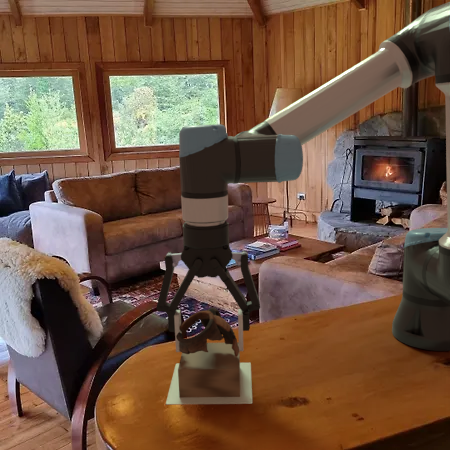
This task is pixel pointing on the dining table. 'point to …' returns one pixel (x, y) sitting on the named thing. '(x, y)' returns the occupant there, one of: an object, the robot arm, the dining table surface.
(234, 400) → the build board
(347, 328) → the dining table surface
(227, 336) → the pottery mug
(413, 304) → the robot arm
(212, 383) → the walnut block
